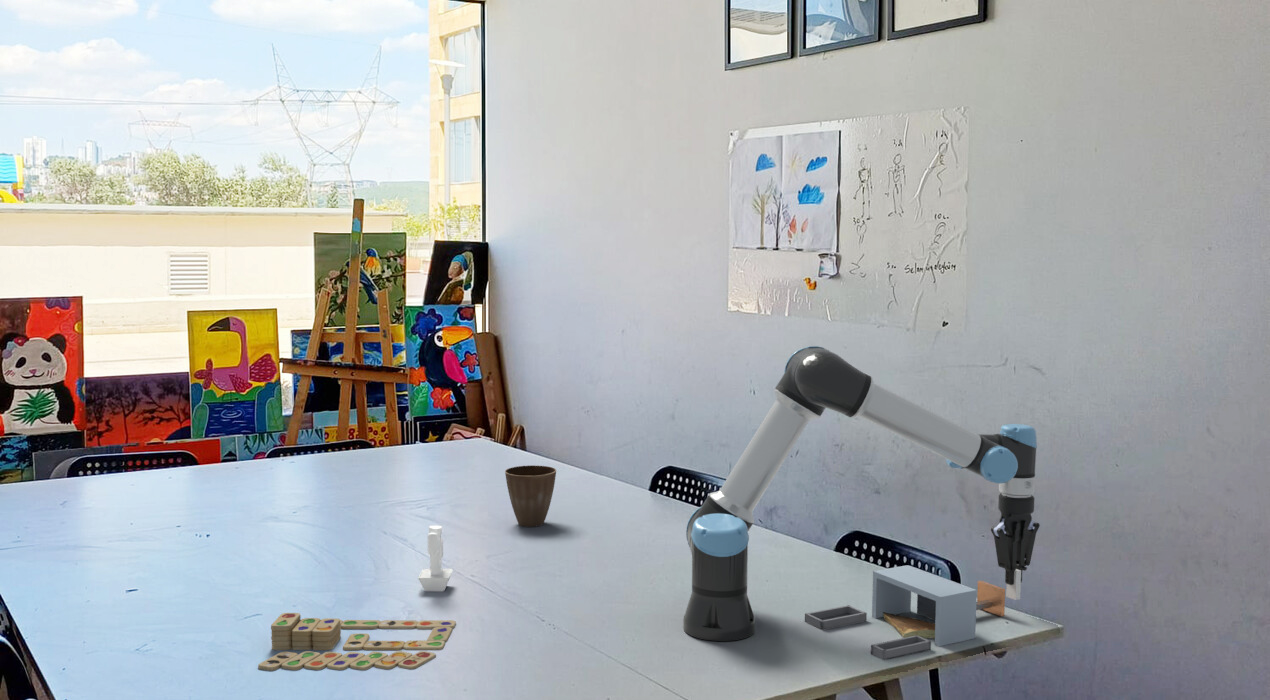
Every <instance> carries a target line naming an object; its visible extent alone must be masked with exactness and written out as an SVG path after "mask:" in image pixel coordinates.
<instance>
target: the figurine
mask: <svg viewBox="0 0 1270 700" xmlns="http://www.w3.org/2000/svg"><path fill="white" fill-rule="evenodd" d="M442 534H443V526H441V525H430V526H428V534H427V553H428V555H429V567H430V568H423V569H422V570H421V572H420V573H419V576H418V577H417V579H418V581H419V583H420V585H421V586H422V588H423V590H424V592H445V590H446V588H447V586H448V584H449V580H450V578H451V575H452V573H453V572H454V571H453V570H454V568H442V558H443V557H444V540H443V538H442Z"/></svg>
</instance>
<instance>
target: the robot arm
mask: <svg viewBox="0 0 1270 700" xmlns="http://www.w3.org/2000/svg"><path fill="white" fill-rule="evenodd" d="M874 381H875V380H874V379H873V377H872V376H871V375H868V374H866V373H865V372H863V371H861V370H859V369H858V368H856V367H855V366H853V365H852V364H850V363H849V362H848V361H847V360H845V359H844V358H843V357H841V356H840V355H838V354H836V353H835V352H832V351H831V350H829V349H827V348H824V347H822V346H819V345H818V346H817V345H816V346H815V345H811V346H806V347H802V348H800V349H798V350H796V351H794V353H792V354H791V355H790V357H789V358H788V360H787V362H786V364H785V368H784V373H783V375H782V376H781V378H780V379H779V381H778V383H777V385H776V386H775V388H774V393H775V401H774V402H773V404H772V406H771V407H770V409H769V411H768V412H767V413H766V416H765V417H764V419H763V420H762V422H761V423H760V425H759V427H758V428H757V430H756V431H755V433H754V435H753V436H752V438H751V439H750V441H749V443H748V444H747V446H746V447H745V449H744V451H743V452H742V453H741V455H740V457H739V459H738V460H737V462H736V463H735V465H734V466H733V468H732V470H731V471H730V473H729V474H728V476H727V478H726V479H725V481H724V482H723V485H722V486H721V488H720V489H719V490H718V491H714V492H710V493H709V494H708V495H707V497H706V499H705V500H704V502H703V503H702V505H701V506H700V507H698V508H697V509H695V511H694V512H693V513H692V514H691V515H690V518H689V519H688V521H687V523H686V530H685V531H686V532H685V533H686V541H687V545H688V548H689V550H690V553H691V566H692V567H691V595H690V597H689V600H688V603H687V607H686V609H685V613H684V615H683V619H682V620H683V621H682V623H683V625H682V627H683V631H684V632H685V633H686V634H687V635H689V636H690V637H691V636H692V637H694V638H697V639H700V640H704V641H705V640H706V641H715V642H729V641H730V642H731V641H737V640H743V639H746V638H749V637H751V636H752V635H753V634H754V633H755V632H756V618H755V615H754V612H753V609H752V605H751V602H750V599H749V596H748V554H749V553H748V552H749V550H748V547H749V546H748V545H749V541H750V535H749V531H750V529H751V528H752V526H753V525H754V523H755V519H754V514H753V511H754V510H755V509H756V506H757V505H758V504H759V502H760V500H761V499H762V497H763V495H764V493H766V491H767V489H768V487H769V486H770V484H771V483H772V481H773V480H774V478H775V477H776V474H778V472H779V470H780V468H781V467H782V465H783V464H784V463H785V460H786V458H788V455H789V454H790V452H791V451H792V449H793V448H794V446H795V444H796V442H797V441H798V439H799V438H800V437H801V435H802V433H803V432H804V430H805V428H806V427H807V425H808V424H809V422H810V421H811V420H815V419H820V417H821V416H822V415H823V413H824V411H825V410H826V409H829V410H832V411H835V412H838V413H840V414H842V415H844V416H846V417H848V418H850V419H852V418H856V417H859V418H861V419H863V420H866V421H868V422H869V423H872V424H874V425H876V426H878V427H880V428H882V429H884V430H887V431H888V432H890V433H893V434H894V435H896V436H898V437H900V438H902V439H905V440H907V441H909V442H911V443H913V444H916V446H919V447H921V448H924V449H925V450H927V451H929V452H931V453H934V454H936V455H938V456H940V457H942V458H944V459H945V462H946V464H947V466H948V467H949V468H952V469H960V470H963V469H966V470H968V471H970V472H972V473H974V474H976V475H978V476H980V477H982V478H984V479H985V480H986V481H988V482H990V483H994V484H998V491H999V492H1000V494H998V510H999V512H1000V518H999V521H998V522H999V523H998V525H997V526H991V528H990V531H991V534H992V535H993V539H994V544H995V553H996V558H997V565H998V567H999V568H1003V569H1004V570H1005V575H1004V576H1005V579H1004V582H1005V584H1006V587H1005V598H1009V599H1011V600H1015V601H1016V600H1021V586H1022V583H1023V571H1024V572H1025V571H1027V569H1028V567H1026V566H1030V564H1031V559H1032V557H1033V551H1034V547H1035V542H1036V541H1035V540H1036V536H1037V533H1038V531H1039V529H1040V526H1041V525H1040V523H1039V522H1035V521H1034V520H1033V517H1032V514H1033V513H1034V512H1035V496H1034V494H1035V488H1036V487H1035V483H1036V482H1035V481H1036V461H1037V460H1036V459H1037V458H1036V457H1037V448H1038V446H1037V431H1036V428H1034V427H1033V426H1031V425H1028V424H1022V423H1021V424H1020V423H1009V424H1002V425H1001V427H1000V431H999V433H995V434H994V433H993V434H987V433H986V434H982V433H981V434H978V433H975V432H973V431H972V430H970V429H967V428H965V427H963V426H962V425H959V424H957V423H956V422H953V421H951V420H949V419H948V418H945V417H943V416H941V415H940V414H937V413H935V412H933V411H931V410H929V409H927V408H925V407H923V406H921V405H919V404H917V403H915V402H912V401H911V400H909V399H906V398H905V397H902V396H901V395H898V394H896V393H894V392H893V391H890V390H888V389H887V388H884V387H882V386H880V385H878V384H876V383H875V382H874Z"/></svg>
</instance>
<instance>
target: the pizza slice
mask: <svg viewBox="0 0 1270 700" xmlns="http://www.w3.org/2000/svg"><path fill="white" fill-rule="evenodd" d="M883 614H884V617H883V619H884V620H885V621H886V622H887V623H889V625H891V626H893V628H895V630H897V632H899V634H900V635H901V637H902V638H906V637H911V636H915V635H918V636H920V637H922V638H925V639H935V623H934V622H932V621H927V620H922V619H919V618H915V617H910V616H904V615H899V614H895V615H894V614H889V613H885V612H883Z"/></svg>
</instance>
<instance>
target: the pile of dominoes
mask: <svg viewBox="0 0 1270 700" xmlns="http://www.w3.org/2000/svg"><path fill="white" fill-rule="evenodd" d="M456 625H457V622H456V620H453V619H451V620H448V619H446V620H445V619H444V620H442V619H441V620H438V619H437V620H436V619H435V620H433V619H430V620H427V619H425V620H423V619H422V620H410V619H409V620H408V619H407V620H406V619H405V620H399V619H398V620H397V619H394V620H393V619H390V620H388V619H384V620H379V619H346V620H342V619H340V618H334V617H333V618H328V617H327V618H321V619H320V618H319V617H310V618H309V617H304V618H302V616H301V613H299V612H283V613H281V614H279V616H278V617H277V618H276V619H275V620H274V621H273V623H272V624H271V626H270V631H271V636H270V637H271V650H273V651H280V652H279V653H277V654H275V655H273V656H271V657H269V658H268V659H265V660H264V661H261V662H259V663H258V666H257V667H258V670H264V671H269V672H272V671H276V670H278V669H284V670H289V671H298V670H299V671H300V670H301V669H303V668H304V669H306V670H312V671H321V670H324V669H326V668H327V669H329V670H330V669H331V670H336V671H344V670H346V669H348V668H350V669H353V670H359V671H367V670H369V669H371V668H374V667H375V668H378V669H382V670H392V669H394V668H396V667H398V668H402V669H407V670H415V669H417V668H420V667H421V666H422V665H424V664H426V663H428V662H430V661H432V660H433V659H435V658H436V657H437V654H436V653H435V652H430V651H441V650H443V649H444V647H445V645H446V643H447V642H448V641H449V638H450V636H451V635H452V632H453V629H455V627H456ZM378 629H379V630H414V629H417V630H431V632H430V634H429V635H428V637H427V640H424V639H423V640H413V639H411V640H406V641H405V640H370V634H369V633H351V634H350V635H349V636H348V638H347V639H346V641H345V643H344V644H343V646H342V650H343V651H349V652H346V653H345V654H342V653H341V652H336V651H330V650H333V649H334V648H335V646H337V644H338V643H339V641H340V639H341V638H342V637H341V634H342V632H341V631H342V630H378ZM290 650H293V651H302V652H300V653H299V654H298V653H297V652H293V651H292V652H291V651H290ZM310 650H314V651H310ZM361 650H364V651H372V652H369V653H367V654H366V653H364V652H357V651H361ZM403 650H405V651H403ZM317 651H324V652H323V653H322V654H321V653H320V652H317ZM380 651H381V652H380ZM382 651H394V652H393V653H391V654H388V653H386V652H382ZM407 651H418V652H416V653H415V654H413V653H411V652H407Z"/></svg>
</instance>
